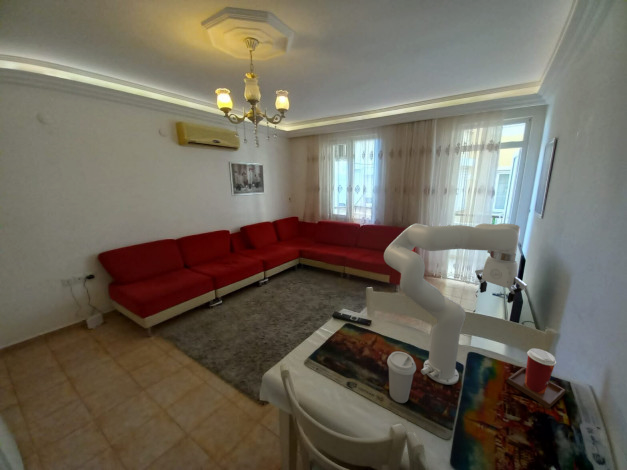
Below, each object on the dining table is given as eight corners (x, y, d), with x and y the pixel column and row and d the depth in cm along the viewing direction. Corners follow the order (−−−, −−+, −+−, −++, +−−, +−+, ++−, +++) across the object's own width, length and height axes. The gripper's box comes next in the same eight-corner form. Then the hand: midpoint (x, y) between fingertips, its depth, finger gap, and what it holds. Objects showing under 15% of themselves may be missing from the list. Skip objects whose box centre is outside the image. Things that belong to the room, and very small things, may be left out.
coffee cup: (399, 411, 79) (402, 373, 76) (379, 390, 88) (381, 355, 84) (419, 399, 84) (422, 363, 80) (398, 380, 92) (400, 346, 89)
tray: (548, 408, 80) (550, 403, 79) (506, 382, 91) (507, 378, 90) (564, 394, 85) (565, 389, 85) (522, 371, 96) (523, 366, 95)
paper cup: (555, 397, 83) (563, 363, 80) (529, 394, 85) (537, 360, 82) (539, 380, 91) (546, 348, 88) (516, 377, 92) (522, 345, 89)
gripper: (473, 251, 97) (468, 290, 101) (525, 263, 82) (517, 308, 85) (484, 249, 100) (478, 286, 104) (536, 260, 85) (527, 304, 89)
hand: (495, 296), depth 95 cm, fingers open, 9 cm apart
